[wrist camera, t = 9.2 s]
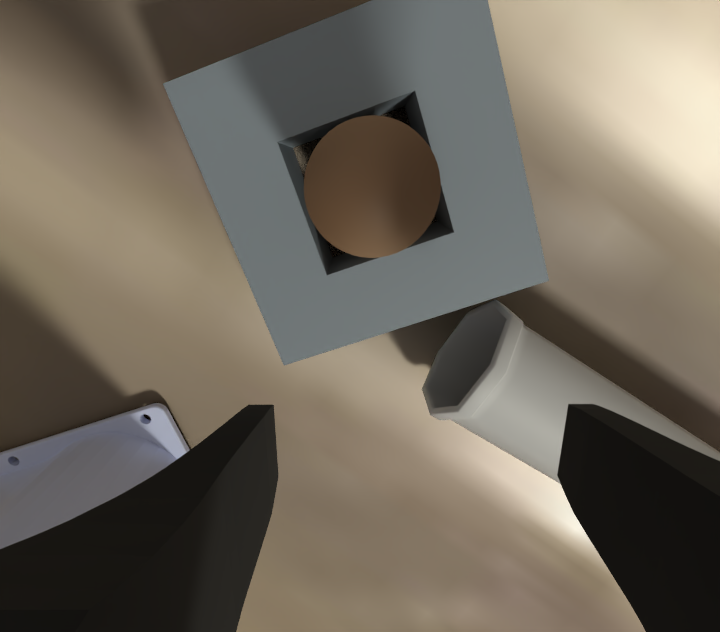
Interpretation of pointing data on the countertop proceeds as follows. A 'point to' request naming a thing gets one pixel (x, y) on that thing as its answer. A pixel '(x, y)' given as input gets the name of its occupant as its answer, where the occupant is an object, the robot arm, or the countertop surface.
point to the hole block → (334, 106)
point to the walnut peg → (372, 186)
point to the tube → (525, 389)
